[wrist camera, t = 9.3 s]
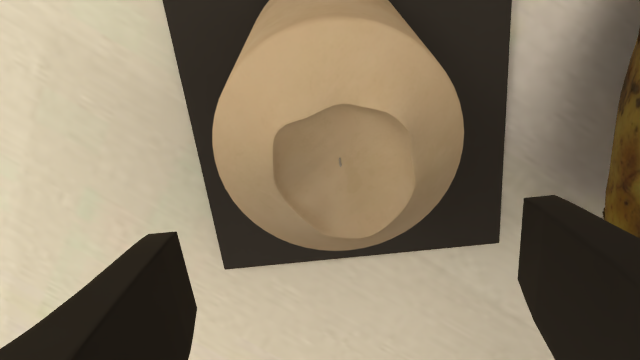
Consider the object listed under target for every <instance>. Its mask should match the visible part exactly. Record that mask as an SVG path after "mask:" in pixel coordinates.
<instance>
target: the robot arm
mask: <svg viewBox="0 0 640 360" xmlns="http://www.w3.org/2000/svg"><path fill="white" fill-rule="evenodd" d="M518 281H519V284H520V286H521V289H522V292H523V294H524V297H525V300H526V302H527V305H528V307H529V310H530V312H531V315H532V317H533V320H534V322H535V324H536V326H537V327H538V329H539V331H540V333H541V335H542V337H543V338H544V340H545V342H546V344H547V346H548V347H549V349H550V351H551V353H552V355H553V356H554V358H555V360H640V238H638V237H636V236H634V235H632V234H630V233H629V232H627V231H625V230H623V229H621V228H619V227H617V226H615V225H613V224H611V223H609V222H607V221H606V220H604V219H602V218H600V217H598V216H596V215H594V214H592V213H590V212H588V211H587V210H585V209H583V208H581V207H579V206H577V205H575V204H573V203H571V202H569V201H567V200H565V199H562V198H560V197H558V196H555V195H550V196H540V197H530V198H524V204H523V217H522V230H521V244H520V257H519V270H518ZM196 312H197V306H196V303H195V299H194V295H193V291H192V288H191V284H190V280H189V276H188V273H187V269H186V265H185V261H184V258H183V254H182V250H181V246H180V243H179V239H178V235H177V232H167V233H156V234H148V235H146V236H145V237H144V238H142V239H141V240H139V241H138V242H137V243H136V244H134V245H133V246H132V247H131V248H130V249H128V250H127V251H126V252H125V253H124V254H123V255H121V256H120V257H119V258H118V259H117V260H115V261H114V262H113V263H112V264H111V265H110V266H108V267H107V268H106V269H105V270H104V271H103V272H101V273H100V274H99V275H98V276H97V277H95V278H94V279H93V280H92V281H91V282H90V283H88V284H87V285H86V286H85V287H84V288H82V289H81V290H80V291H79V292H77V293H76V294H75V295H74V296H72V297H71V298H70V299H68V300H67V301H66V302H65V303H63V304H62V305H61V306H59V307H58V308H57V309H56V310H54V311H53V312H52V313H50V314H49V315H48V316H47V317H45V318H44V319H43V320H41V321H40V322H39V323H37V324H36V325H35V326H33V327H32V328H30V329H29V330H28V331H26V332H25V333H23V334H22V335H21V336H19V337H18V338H16V339H15V340H13V341H12V342H10V343H9V344H7V345H6V346H4V347H3V348H1V349H0V360H188V358H189V354H190V350H191V344H192V339H193V333H194V326H195V319H196Z"/></svg>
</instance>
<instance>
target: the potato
mask: <svg viewBox="0 0 640 360" xmlns="http://www.w3.org/2000/svg"><path fill="white" fill-rule="evenodd" d="M603 217H604V220H606V221H607V222H609V223H611V224H613V225H615V226H617V227H619V228H621V229H623V230H625V231H627V232H629V233H630V234H632V235H634V236H636V237H638V238H640V29H639V34H638V38H637V41H636V44H635V47H634V50H633V53H632V56H631V59H630V63H629V66H628V70H627V73H626V76H625V80H624V84H623V87H622V91H621V96H620V101H619V106H618V113H617V119H616V125H615V133H614V140H613V147H612V154H611V163H610V170H609V176H608V182H607V187H606V197H605V208H604V212H603Z"/></svg>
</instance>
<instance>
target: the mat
mask: <svg viewBox="0 0 640 360" xmlns="http://www.w3.org/2000/svg"><path fill="white" fill-rule="evenodd" d="M268 1H269V0H163V4H164V8H165V13H166V17H167V21H168V26H169V30H170V34H171V39H172V43H173V47H174V52H175V56H176V60H177V65H178V69H179V73H180V78H181V82H182V86H183V91H184V95H185V99H186V104H187V108H188V112H189V117H190V121H191V125H192V130H193V134H194V138H195V143H196V147H197V151H198V156H199V160H200V164H201V169H202V173H203V177H204V182H205V186H206V190H207V195H208V199H209V203H210V208H211V212H212V216H213V221H214V225H215V229H216V234H217V238H218V242H219V247H220V251H221V255H222V260H223V264H224V268H225V269H234V268H245V267H255V266H265V265H276V264H286V263H296V262H307V261H317V260H327V259H338V258H348V257H358V256H369V255H379V254H390V253H400V252H410V251H421V250H431V249H441V248H452V247H462V246H472V245H483V244H493V243H499V234H500V214H501V195H502V176H503V156H504V137H505V118H506V98H507V79H508V60H509V41H510V21H511V2H512V0H388V1H389V2H390V3H391V4H392V5H393V6H394V8H395V9H396V10H397V11H398V13H399V14H400V15H401V16H402V18H403V19H404V20H405V21H406V23H407V24H408V25H409V26H410V27H411V29H412V30H413V31H414V32H415V34H416V35H417V36H418V37H419V39H420V40H421V41H422V42H423V44H424V45H425V46H426V47H427V48H428V50H429V51H430V52H431V53H432V55H433V56H434V57H435V58H436V60H437V61H438V62H439V64H440V65H441V66H442V68H443V69H444V70H445V72H446V73H447V75H448V77H449V78H450V80H451V82H452V84H453V86H454V88H455V90H456V93H457V96H458V99H459V101H460V105H461V110H462V115H463V124H464V140H463V150H462V154H461V159H460V163H459V166H458V169H457V171H456V174H455V177H454V179H453V181H452V182H451V184H450V186H449V188H448V190H447V191H446V193H445V194H444V196H443V197H442V199H441V200H440V201H439V203H438V204H437V205H436V206H435V207H434V208H433V209H432V211H431V212H430V213H429V214H428V215H426V216H425V217H424V218H423V219H422V220H421V221H420V222H418V223H417V224H416V225H414V226H413V227H411V228H410V229H408V230H407V231H405V232H404V233H402V234H400V235H398V236H396V237H394V238H392V239H390V240H387V241H385V242H382V243H380V244H376V245H373V246H369V247H366V248H360V249H354V250H343V251H328V250H317V249H311V248H305V247H302V246H298V245H295V244H291V243H289V242H287V241H284V240H282V239H279V238H277V237H275V236H274V235H272V234H270V233H268V232H266V231H265V230H263V229H262V228H261V227H259V226H258V225H256V224H255V223H254V222H253V221H251V220H250V219H249V218H248V217H247V216H246V215H245V214H244V213H243V212H242V211H241V210H240V209H239V207H238V206H237V205H236V204H235V202H234V201H233V200H232V198H231V197H230V195H229V193H228V192H227V190H226V189H225V187H224V185H223V182H222V180H221V178H220V176H219V173H218V170H217V166H216V163H215V159H214V152H213V145H212V129H213V122H214V115H215V111H216V108H217V104H218V101H219V98H220V96H221V93H222V91H223V89H224V87H225V84H226V82H227V80H228V78H229V76H230V74H231V72H232V70H233V68H234V65H235V63H236V61H237V59H238V57H239V55H240V53H241V51H242V49H243V47H244V45H245V43H246V40H247V38H248V36H249V34H250V32H251V30H252V28H253V26H254V24H255V22H256V20H257V18H258V16H259V15H260V13H261V11H262V10H263V8H264V7H265V5H266V4H267V3H268Z"/></svg>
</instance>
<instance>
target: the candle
mask: <svg viewBox="0 0 640 360" xmlns="http://www.w3.org/2000/svg"><path fill="white" fill-rule="evenodd" d="M463 140H464V124H463V115H462V110H461V105H460V101H459V99H458V96H457V93H456V90H455V88H454V86H453V84H452V82H451V80H450V78H449V77H448V75H447V73H446V72H445V70H444V69H443V68H442V66H441V65H440V64H439V62H438V61H437V60H436V58H435V57H434V56H433V55H432V53H431V52H430V51H429V50H428V48H427V47H426V46H425V45H424V44H423V42H422V41H421V40H420V39H419V37H418V36H417V35H416V34H415V32H414V31H413V30H412V29H411V27H410V26H409V25H408V24H407V23H406V21H405V20H404V19H403V18H402V16H401V15H400V14H399V13H398V11H397V10H396V9H395V8H394V6H393V5H392V4H391V3H390V2H389V1H388V0H269V1H268V3H267V4H266V5H265V7H264V8H263V10H262V11H261V13H260V15H259V16H258V18H257V20H256V22H255V24H254V26H253V28H252V30H251V32H250V34H249V36H248V38H247V40H246V43H245V45H244V47H243V49H242V51H241V53H240V55H239V57H238V59H237V61H236V63H235V65H234V68H233V70H232V72H231V74H230V76H229V78H228V80H227V82H226V84H225V87H224V89H223V91H222V93H221V96H220V98H219V101H218V104H217V108H216V111H215V115H214V122H213V129H212V145H213V152H214V159H215V163H216V166H217V170H218V173H219V176H220V178H221V180H222V182H223V185H224V187H225V189H226V190H227V192H228V193H229V195H230V197H231V198H232V200H233V201H234V202H235V204H236V205H237V206H238V207H239V209H240V210H241V211H242V212H243V213H244V214H245V215H246V216H247V217H248V218H249V219H250V220H251V221H253V222H254V223H255V224H256V225H258V226H259V227H261V228H262V229H263V230H265V231H266V232H268V233H270V234H272V235H274V236H275V237H277V238H279V239H282V240H284V241H287V242H289V243H291V244H295V245H298V246H302V247H305V248H311V249H317V250H328V251H343V250H354V249H360V248H366V247H369V246H373V245H376V244H380V243H382V242H385V241H387V240H390V239H392V238H394V237H396V236H398V235H400V234H402V233H404V232H405V231H407V230H408V229H410V228H411V227H413V226H414V225H416V224H417V223H418V222H420V221H421V220H422V219H423V218H424V217H425V216H426V215H428V214H429V213H430V212H431V211H432V209H433V208H434V207H435V206H436V205H437V204H438V203H439V201H440V200H441V199H442V197H443V196H444V194H445V193H446V191H447V190H448V188H449V186H450V184H451V182H452V181H453V179H454V177H455V174H456V171H457V169H458V166H459V163H460V159H461V154H462V150H463Z"/></svg>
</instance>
